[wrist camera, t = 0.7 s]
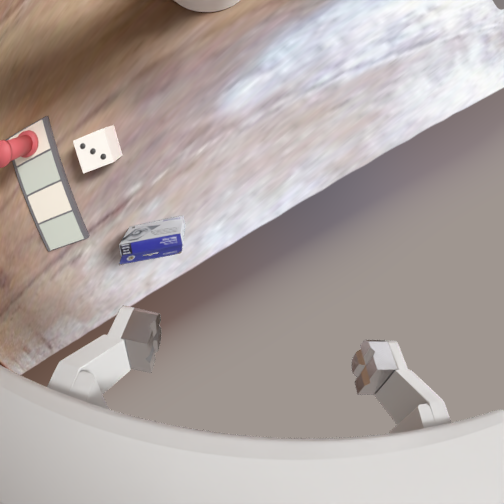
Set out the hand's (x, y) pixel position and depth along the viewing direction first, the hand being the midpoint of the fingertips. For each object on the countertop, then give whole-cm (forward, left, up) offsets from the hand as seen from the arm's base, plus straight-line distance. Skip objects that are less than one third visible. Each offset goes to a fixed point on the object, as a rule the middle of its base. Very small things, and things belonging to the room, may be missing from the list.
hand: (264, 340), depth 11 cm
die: (-6, -19, -46) cm, 50 cm away
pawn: (-13, -34, -45) cm, 58 cm away
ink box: (+12, -14, -46) cm, 49 cm away
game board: (-3, -34, -46) cm, 57 cm away
